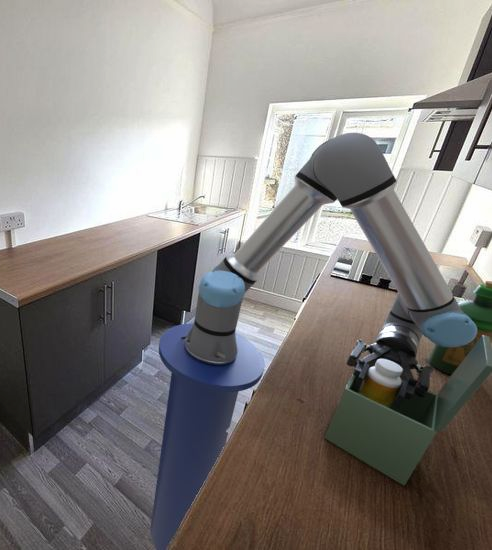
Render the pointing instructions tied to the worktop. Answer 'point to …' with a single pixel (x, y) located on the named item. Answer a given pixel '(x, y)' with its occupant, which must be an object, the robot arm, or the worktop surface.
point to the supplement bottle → (382, 382)
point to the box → (384, 431)
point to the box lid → (464, 382)
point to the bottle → (488, 319)
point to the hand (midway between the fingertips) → (377, 392)
